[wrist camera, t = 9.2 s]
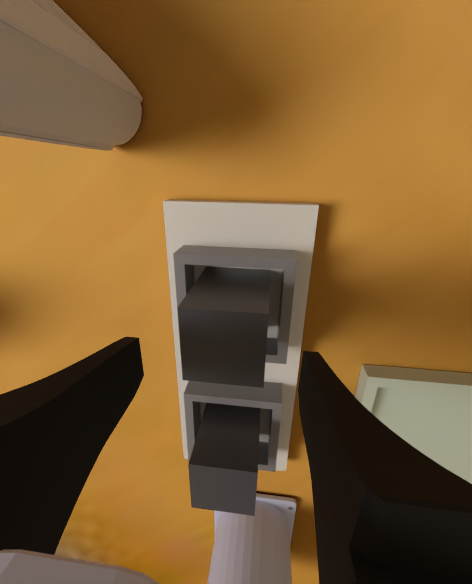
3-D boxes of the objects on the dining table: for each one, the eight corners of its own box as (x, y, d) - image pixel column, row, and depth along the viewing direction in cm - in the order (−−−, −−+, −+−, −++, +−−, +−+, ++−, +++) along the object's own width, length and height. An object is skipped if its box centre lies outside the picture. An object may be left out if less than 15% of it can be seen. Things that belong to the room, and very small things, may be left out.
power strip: (285, 458, 25) (289, 558, 19) (187, 446, 26) (159, 538, 20) (315, 203, 17) (343, 222, 10) (169, 199, 18) (109, 214, 11)
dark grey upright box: (266, 326, 19) (263, 387, 14) (208, 321, 19) (182, 380, 14) (269, 269, 18) (268, 313, 12) (206, 266, 18) (177, 307, 12)
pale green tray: (494, 505, 25) (507, 524, 23) (334, 485, 26) (337, 501, 25) (568, 381, 19) (590, 396, 18) (362, 364, 21) (368, 376, 19)
